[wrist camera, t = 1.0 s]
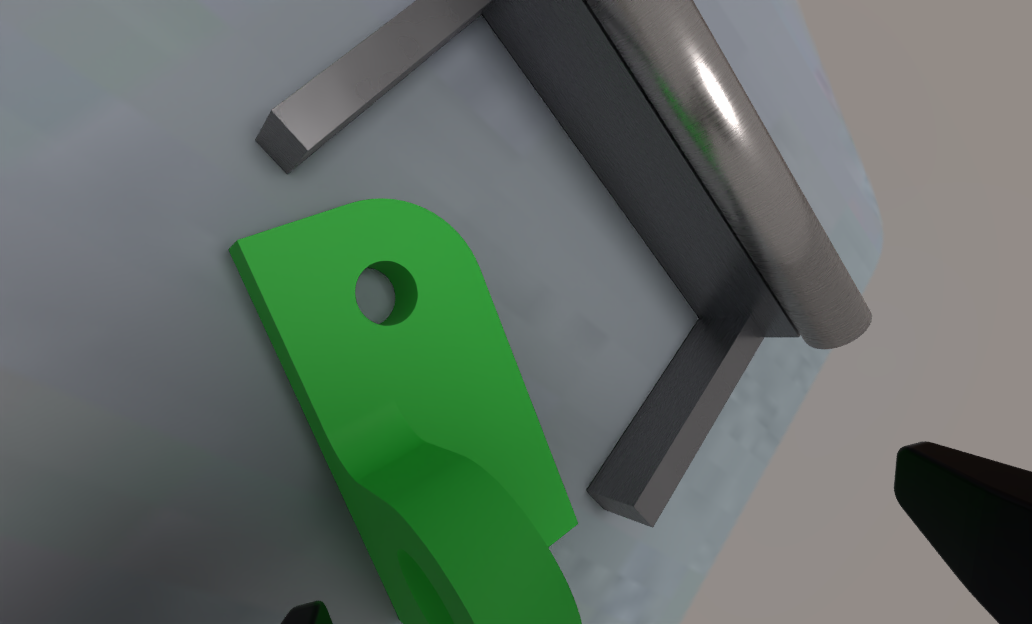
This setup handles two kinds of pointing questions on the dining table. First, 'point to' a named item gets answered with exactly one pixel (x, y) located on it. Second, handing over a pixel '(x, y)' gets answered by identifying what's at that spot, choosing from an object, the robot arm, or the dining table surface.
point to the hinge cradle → (638, 191)
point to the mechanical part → (417, 412)
